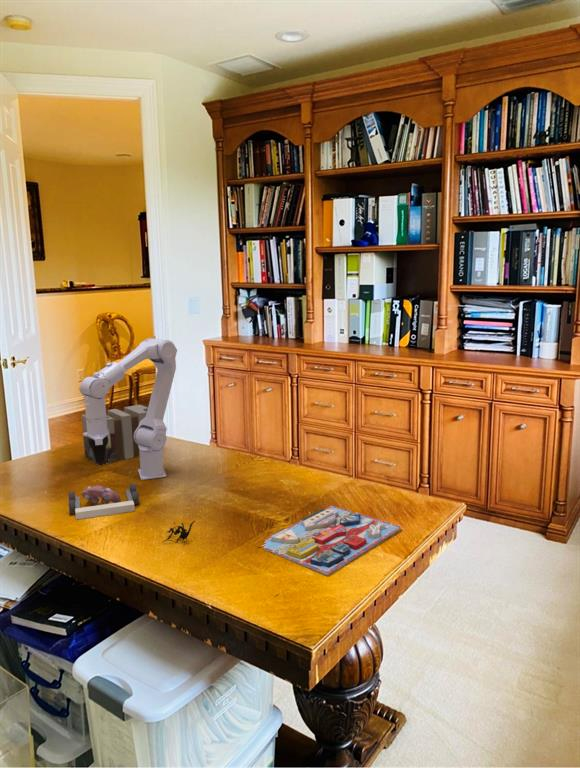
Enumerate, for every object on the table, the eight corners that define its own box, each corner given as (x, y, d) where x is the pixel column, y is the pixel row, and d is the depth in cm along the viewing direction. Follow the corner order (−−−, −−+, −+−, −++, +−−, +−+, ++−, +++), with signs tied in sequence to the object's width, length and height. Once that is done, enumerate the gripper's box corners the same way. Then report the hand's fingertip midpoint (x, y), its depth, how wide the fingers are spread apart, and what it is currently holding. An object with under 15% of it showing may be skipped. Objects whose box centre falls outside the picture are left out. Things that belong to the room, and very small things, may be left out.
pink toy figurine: (85, 508, 176) (77, 492, 171) (92, 496, 179) (84, 480, 175) (116, 511, 173) (109, 494, 169) (123, 499, 177) (116, 482, 173)
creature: (156, 545, 151) (177, 547, 146) (151, 524, 151) (172, 526, 146) (180, 534, 157) (201, 535, 152) (176, 514, 157) (196, 515, 152)
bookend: (163, 452, 221) (161, 409, 217) (96, 468, 205) (92, 421, 202) (143, 443, 233) (140, 401, 229) (79, 457, 217) (75, 413, 214)
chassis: (69, 502, 176) (68, 490, 175) (135, 493, 182) (134, 481, 182) (69, 520, 164) (68, 508, 163) (140, 510, 170) (139, 498, 169)
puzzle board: (331, 509, 170) (331, 500, 170) (402, 532, 155) (402, 522, 155) (253, 548, 148) (252, 537, 148) (327, 579, 133) (327, 568, 132)
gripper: (81, 413, 185) (85, 456, 188) (82, 425, 171) (86, 471, 174) (105, 410, 187) (109, 453, 190) (108, 422, 174) (112, 468, 176)
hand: (99, 461), depth 182 cm, fingers closed
